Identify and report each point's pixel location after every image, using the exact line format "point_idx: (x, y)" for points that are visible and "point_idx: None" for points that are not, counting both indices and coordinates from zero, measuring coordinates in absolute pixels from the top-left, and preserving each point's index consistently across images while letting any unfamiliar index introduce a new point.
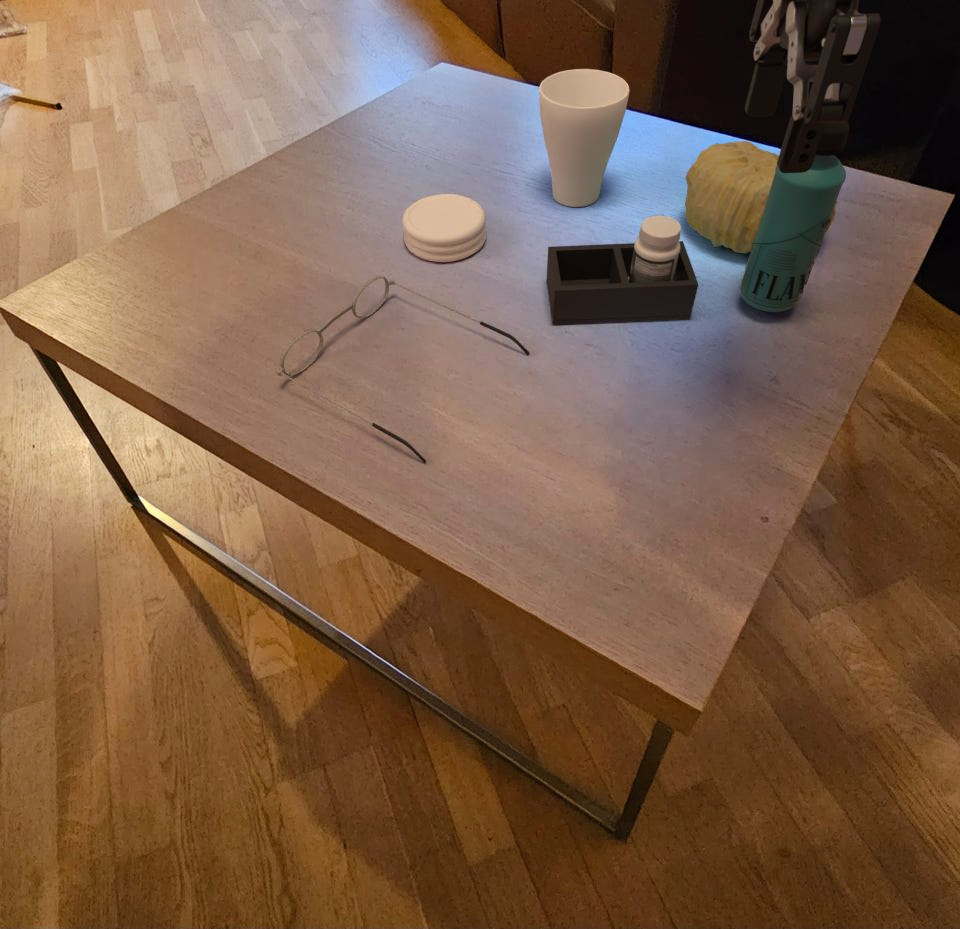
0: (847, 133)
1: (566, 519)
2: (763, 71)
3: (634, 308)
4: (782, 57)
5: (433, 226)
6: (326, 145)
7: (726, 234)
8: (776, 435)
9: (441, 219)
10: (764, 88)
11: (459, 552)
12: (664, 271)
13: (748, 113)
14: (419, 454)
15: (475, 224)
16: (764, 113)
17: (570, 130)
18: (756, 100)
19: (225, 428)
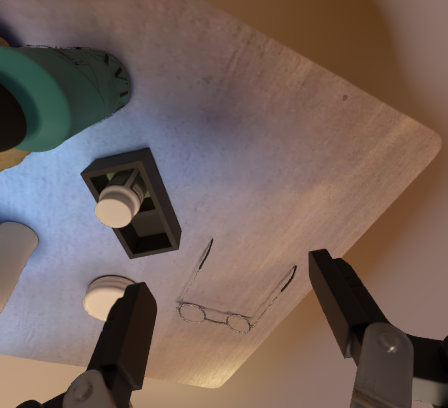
0: None
1: (333, 206)
2: (139, 373)
3: (162, 192)
4: (113, 386)
5: None
6: (49, 355)
7: None
8: (269, 82)
9: None
10: (143, 337)
11: (347, 243)
12: (138, 189)
13: (155, 308)
14: (295, 270)
15: (113, 292)
16: (147, 292)
17: (4, 295)
18: (150, 323)
19: (276, 325)
